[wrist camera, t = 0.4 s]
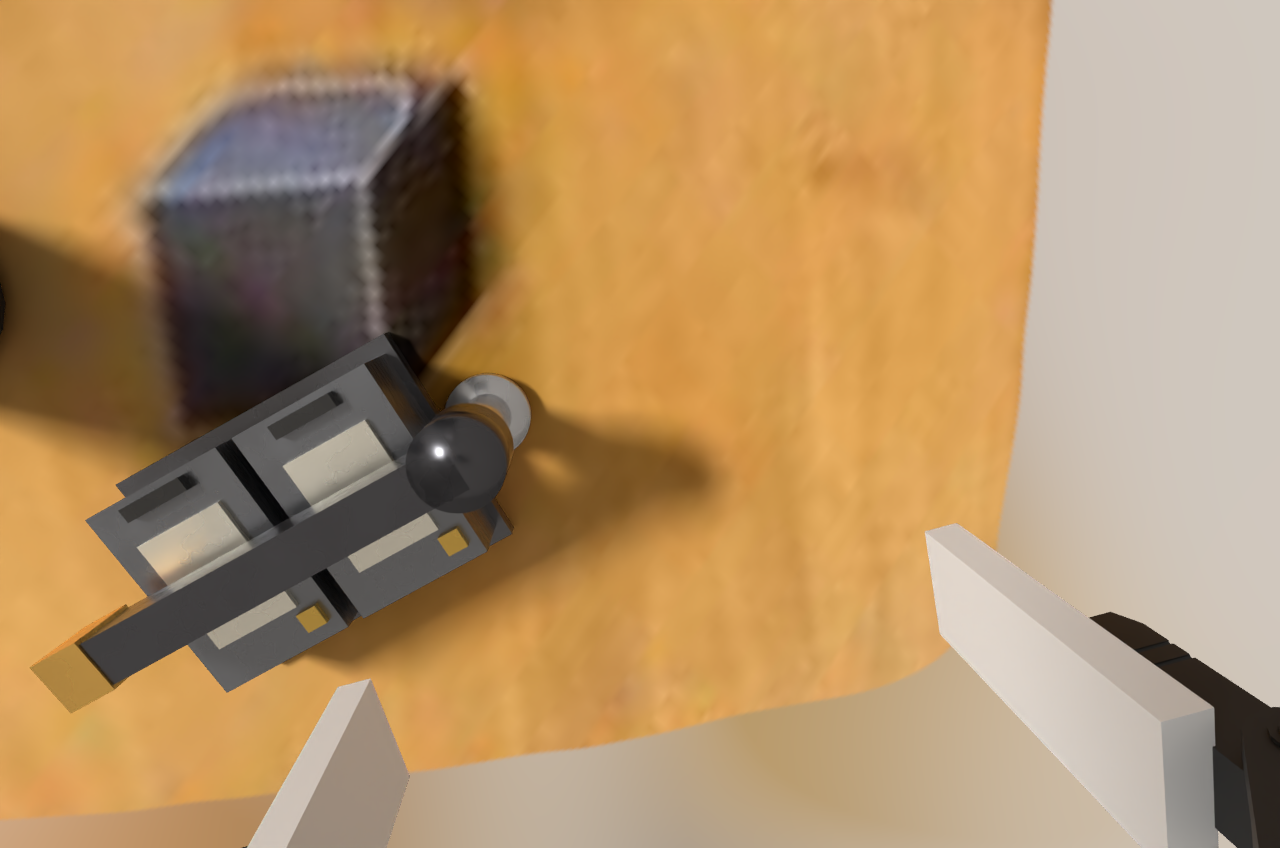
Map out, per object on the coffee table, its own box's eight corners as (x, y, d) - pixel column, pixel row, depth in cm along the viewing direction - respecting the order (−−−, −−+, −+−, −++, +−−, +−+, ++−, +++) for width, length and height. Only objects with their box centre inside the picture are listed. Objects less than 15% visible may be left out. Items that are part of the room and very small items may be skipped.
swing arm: (483, 387, 33) (471, 401, 30) (530, 462, 34) (523, 485, 31) (75, 614, 34) (17, 654, 31) (132, 680, 35) (82, 726, 32)
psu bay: (126, 479, 40) (55, 513, 35) (388, 332, 40) (357, 343, 34) (269, 660, 44) (224, 716, 38) (513, 527, 43) (503, 566, 37)
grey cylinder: (431, 398, 41) (398, 426, 34) (503, 357, 40) (486, 377, 33) (475, 468, 42) (453, 509, 35) (546, 429, 42) (538, 462, 35)
